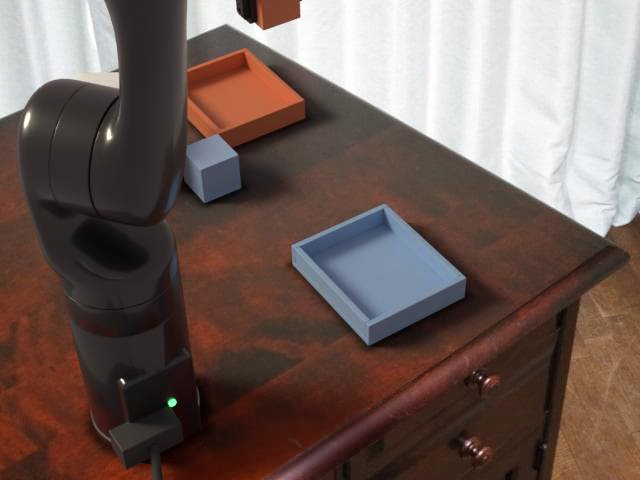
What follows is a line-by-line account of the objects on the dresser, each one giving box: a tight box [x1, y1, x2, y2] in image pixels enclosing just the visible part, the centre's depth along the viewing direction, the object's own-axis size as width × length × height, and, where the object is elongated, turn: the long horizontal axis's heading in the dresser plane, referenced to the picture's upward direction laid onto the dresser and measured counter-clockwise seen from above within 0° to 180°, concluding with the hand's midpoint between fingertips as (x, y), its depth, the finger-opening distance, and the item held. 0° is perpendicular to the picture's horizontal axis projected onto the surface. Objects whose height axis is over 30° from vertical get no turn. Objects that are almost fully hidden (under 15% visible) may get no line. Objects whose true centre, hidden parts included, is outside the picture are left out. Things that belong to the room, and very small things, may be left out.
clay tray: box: [187, 47, 306, 149], centre depth 133 cm, size 13×11×3 cm
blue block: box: [183, 134, 242, 204], centre depth 122 cm, size 4×4×4 cm
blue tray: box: [291, 203, 467, 347], centre depth 111 cm, size 13×11×3 cm
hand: (271, 11), depth 119 cm, fingers closed on clay block, 4 cm apart
